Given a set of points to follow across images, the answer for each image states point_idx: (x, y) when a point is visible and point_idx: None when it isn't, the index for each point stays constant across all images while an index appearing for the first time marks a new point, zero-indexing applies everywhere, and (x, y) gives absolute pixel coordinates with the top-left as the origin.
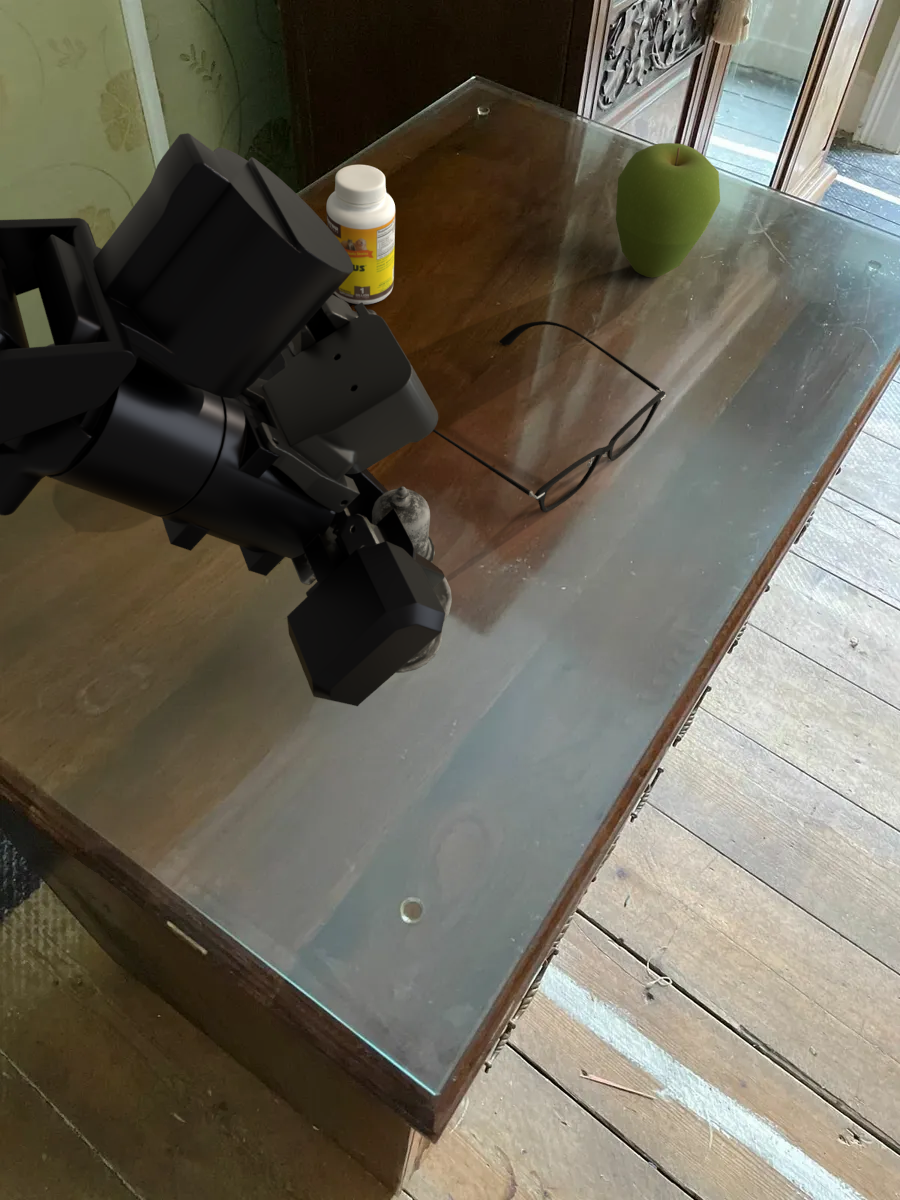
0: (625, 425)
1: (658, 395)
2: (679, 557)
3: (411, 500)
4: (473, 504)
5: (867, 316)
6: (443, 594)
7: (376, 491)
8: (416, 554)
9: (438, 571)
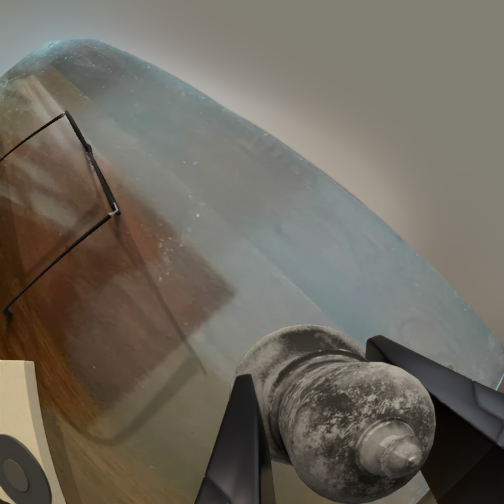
0: (79, 133)
1: (67, 112)
2: (189, 132)
3: (395, 420)
4: (95, 271)
5: (72, 45)
6: (312, 335)
7: (262, 486)
8: (445, 391)
9: (395, 346)
